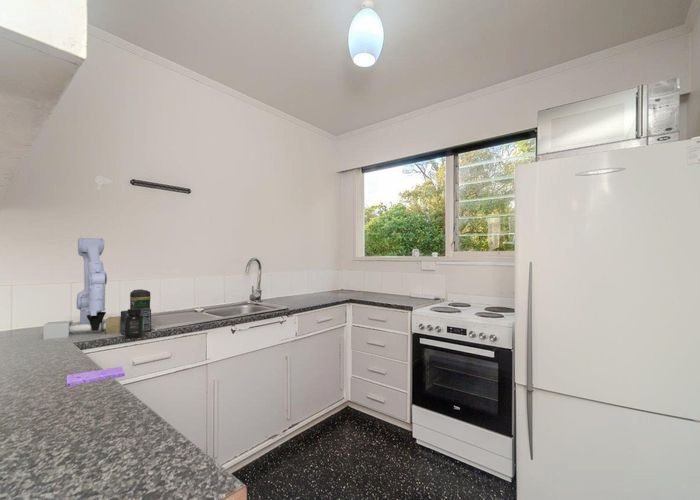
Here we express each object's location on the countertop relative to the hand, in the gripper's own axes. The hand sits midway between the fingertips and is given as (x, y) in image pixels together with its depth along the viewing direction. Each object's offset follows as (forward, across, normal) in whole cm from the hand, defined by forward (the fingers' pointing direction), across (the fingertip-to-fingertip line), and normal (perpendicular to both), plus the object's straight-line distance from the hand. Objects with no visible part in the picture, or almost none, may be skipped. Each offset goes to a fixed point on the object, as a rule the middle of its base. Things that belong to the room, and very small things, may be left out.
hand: (96, 329), depth 145 cm
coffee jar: (+2, -7, +16) cm, 18 cm away
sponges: (+3, +69, +11) cm, 70 cm away
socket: (+2, 0, +6) cm, 7 cm away
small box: (+2, +7, +16) cm, 17 cm away
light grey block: (+2, 0, -13) cm, 13 cm away
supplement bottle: (+2, +16, +16) cm, 22 cm away
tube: (+1, 0, -3) cm, 3 cm away
